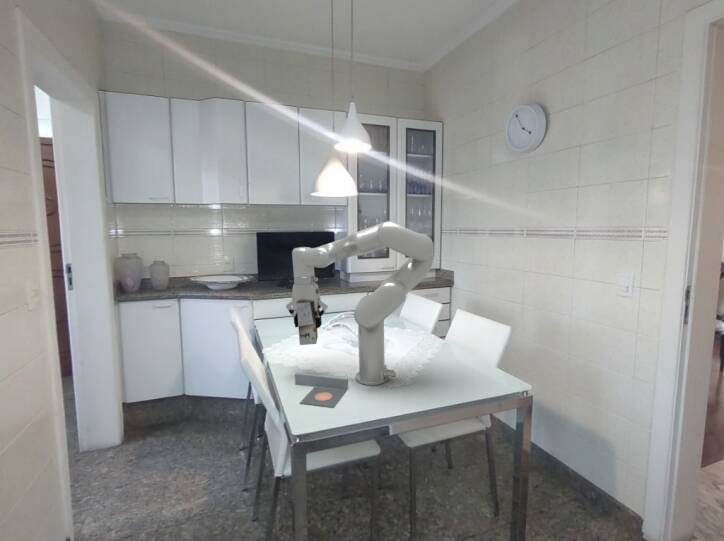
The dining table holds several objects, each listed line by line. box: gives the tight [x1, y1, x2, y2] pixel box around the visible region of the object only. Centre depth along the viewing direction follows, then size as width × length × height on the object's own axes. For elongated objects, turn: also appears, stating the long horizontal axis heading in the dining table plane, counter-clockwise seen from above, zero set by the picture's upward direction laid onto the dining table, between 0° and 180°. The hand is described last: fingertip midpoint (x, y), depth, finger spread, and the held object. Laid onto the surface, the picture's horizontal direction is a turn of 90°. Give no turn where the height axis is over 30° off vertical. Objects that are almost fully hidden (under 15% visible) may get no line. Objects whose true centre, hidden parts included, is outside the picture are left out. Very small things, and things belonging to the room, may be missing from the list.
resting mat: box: [299, 387, 347, 409], centre depth 131 cm, size 12×12×1 cm
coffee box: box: [296, 301, 319, 346], centre depth 145 cm, size 9×6×16 cm
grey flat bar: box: [294, 372, 349, 391], centre depth 139 cm, size 20×1×4 cm, turn 73°
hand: (308, 326), depth 145 cm, fingers closed on coffee box, 8 cm apart
